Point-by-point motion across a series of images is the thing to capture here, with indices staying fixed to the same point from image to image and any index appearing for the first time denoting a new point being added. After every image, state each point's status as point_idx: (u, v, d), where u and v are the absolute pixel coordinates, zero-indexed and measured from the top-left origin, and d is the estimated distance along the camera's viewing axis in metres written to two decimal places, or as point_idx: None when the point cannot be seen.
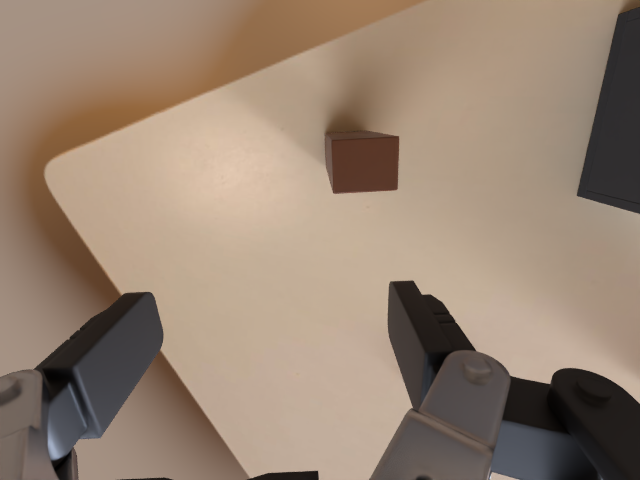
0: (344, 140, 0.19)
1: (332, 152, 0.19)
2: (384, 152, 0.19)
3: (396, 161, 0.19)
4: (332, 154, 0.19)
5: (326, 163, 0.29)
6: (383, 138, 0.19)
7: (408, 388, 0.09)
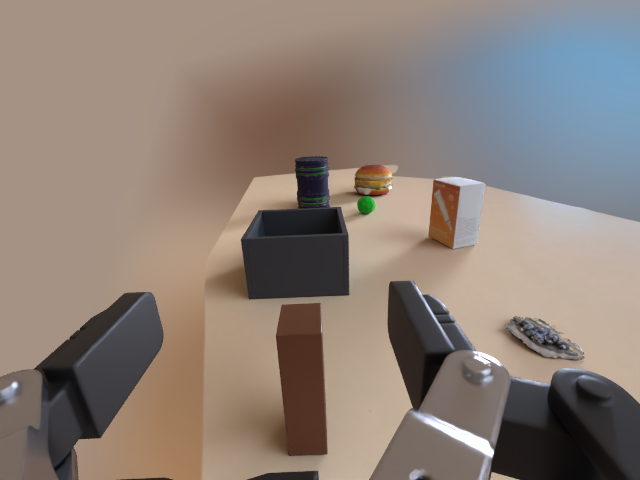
0: (278, 329, 0.23)
1: (286, 335, 0.22)
2: (291, 309, 0.25)
3: (299, 304, 0.26)
4: (287, 335, 0.22)
5: (318, 437, 0.26)
6: (281, 310, 0.25)
7: (408, 388, 0.09)
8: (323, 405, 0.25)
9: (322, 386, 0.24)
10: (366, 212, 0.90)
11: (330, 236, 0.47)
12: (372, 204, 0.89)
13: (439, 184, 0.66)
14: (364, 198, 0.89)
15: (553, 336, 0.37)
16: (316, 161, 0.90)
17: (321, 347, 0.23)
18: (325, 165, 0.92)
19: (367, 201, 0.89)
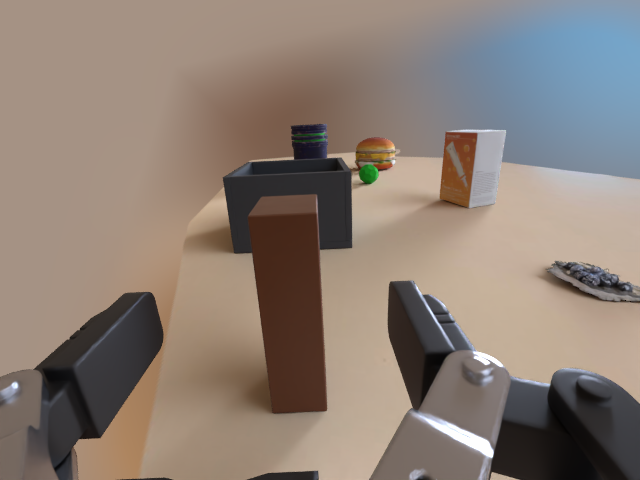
0: (251, 211, 0.15)
1: (262, 215, 0.15)
2: (274, 199, 0.18)
3: None
4: (265, 216, 0.15)
5: (314, 385, 0.18)
6: (259, 200, 0.17)
7: (408, 388, 0.09)
8: (320, 334, 0.17)
9: (319, 303, 0.16)
10: (369, 182, 0.83)
11: (329, 173, 0.39)
12: (375, 172, 0.82)
13: (452, 135, 0.58)
14: (366, 166, 0.82)
15: (611, 276, 0.30)
16: (314, 126, 0.82)
17: (317, 236, 0.15)
18: (324, 131, 0.85)
19: (370, 168, 0.81)
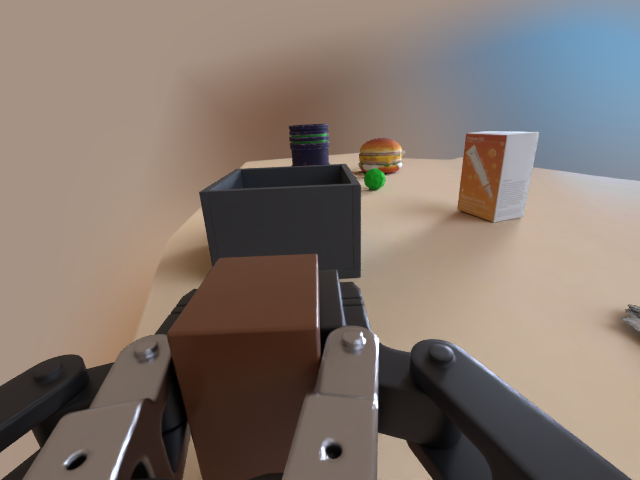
0: (182, 313, 0.07)
1: (200, 333, 0.07)
2: (239, 267, 0.10)
3: (262, 256, 0.10)
4: (205, 333, 0.07)
5: None
6: (212, 269, 0.10)
7: None
8: None
9: None
10: (375, 188, 0.75)
11: (333, 187, 0.31)
12: (382, 177, 0.74)
13: (474, 138, 0.50)
14: (372, 170, 0.74)
15: None
16: (314, 126, 0.74)
17: (317, 372, 0.07)
18: (325, 132, 0.77)
19: (376, 173, 0.73)
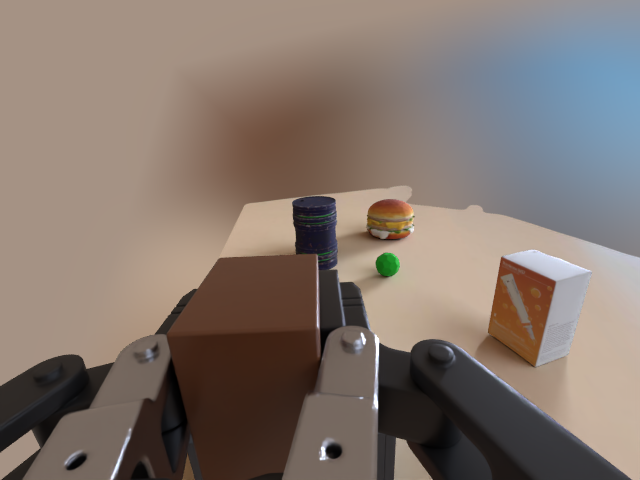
0: (182, 314, 0.07)
1: (199, 333, 0.07)
2: (239, 266, 0.10)
3: (262, 256, 0.10)
4: (205, 333, 0.07)
5: None
6: (212, 270, 0.09)
7: None
8: None
9: None
10: (388, 275, 0.68)
11: None
12: (396, 265, 0.66)
13: (512, 266, 0.43)
14: (385, 257, 0.67)
15: None
16: (320, 207, 0.67)
17: (317, 372, 0.07)
18: (332, 211, 0.69)
19: (390, 261, 0.66)
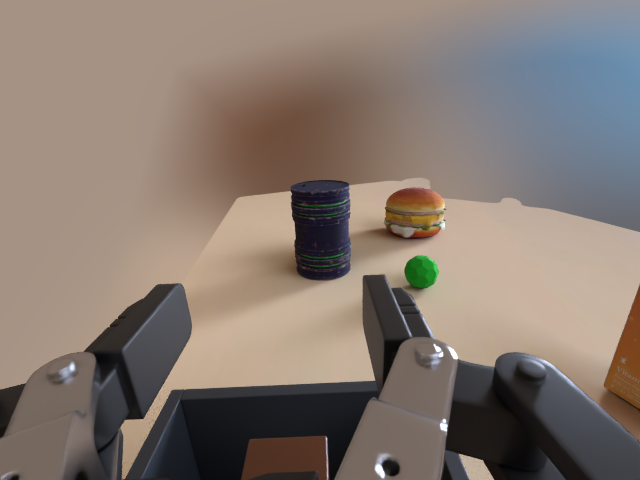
0: None
1: None
2: (267, 457, 0.12)
3: (283, 439, 0.13)
4: None
5: None
6: (246, 461, 0.12)
7: (375, 375, 0.09)
8: None
9: None
10: (422, 287, 0.49)
11: None
12: (435, 273, 0.48)
13: None
14: (419, 262, 0.48)
15: None
16: (329, 193, 0.49)
17: None
18: (345, 198, 0.51)
19: (426, 267, 0.47)
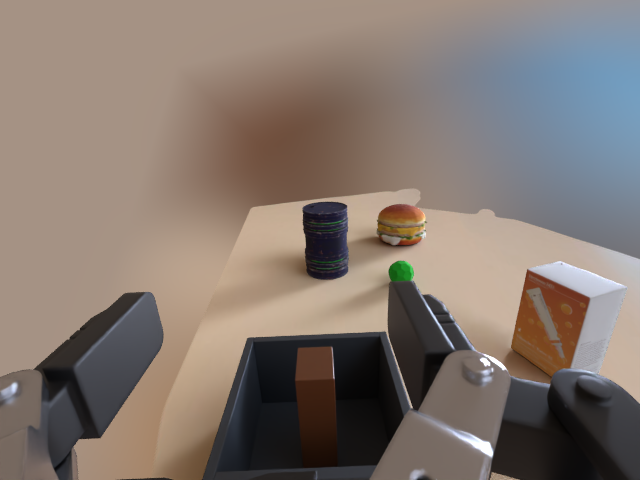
0: (296, 373, 0.27)
1: (303, 379, 0.26)
2: (306, 353, 0.29)
3: (313, 347, 0.30)
4: (305, 380, 0.26)
5: (330, 465, 0.29)
6: (298, 354, 0.29)
7: (408, 388, 0.09)
8: (335, 437, 0.28)
9: (334, 421, 0.28)
10: None
11: None
12: (410, 274, 0.64)
13: (540, 280, 0.41)
14: (399, 265, 0.64)
15: None
16: (332, 214, 0.65)
17: (334, 389, 0.26)
18: (344, 217, 0.67)
19: (404, 269, 0.64)
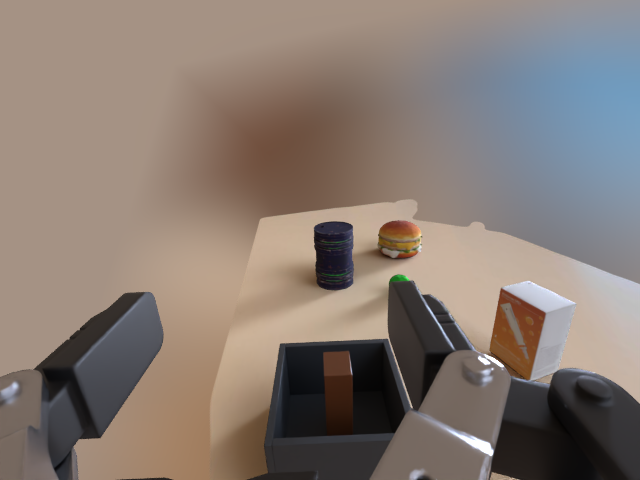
0: (324, 371, 0.37)
1: (330, 375, 0.36)
2: (330, 356, 0.39)
3: (334, 352, 0.40)
4: (331, 375, 0.36)
5: None
6: (324, 357, 0.39)
7: (408, 388, 0.09)
8: (351, 418, 0.38)
9: (351, 406, 0.38)
10: None
11: None
12: None
13: (510, 297, 0.51)
14: (397, 279, 0.75)
15: None
16: (340, 234, 0.75)
17: (351, 382, 0.37)
18: (350, 237, 0.78)
19: None
